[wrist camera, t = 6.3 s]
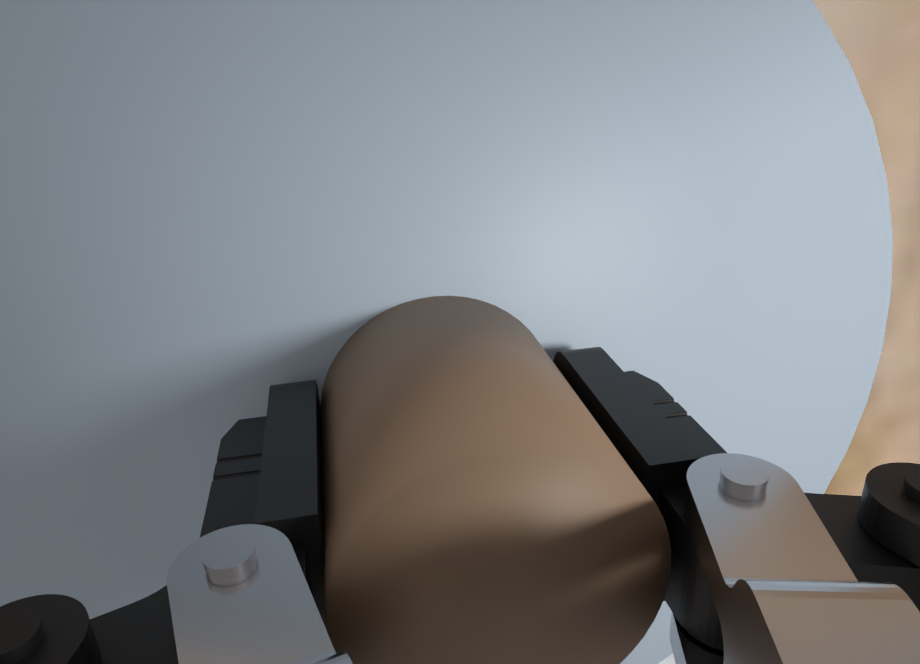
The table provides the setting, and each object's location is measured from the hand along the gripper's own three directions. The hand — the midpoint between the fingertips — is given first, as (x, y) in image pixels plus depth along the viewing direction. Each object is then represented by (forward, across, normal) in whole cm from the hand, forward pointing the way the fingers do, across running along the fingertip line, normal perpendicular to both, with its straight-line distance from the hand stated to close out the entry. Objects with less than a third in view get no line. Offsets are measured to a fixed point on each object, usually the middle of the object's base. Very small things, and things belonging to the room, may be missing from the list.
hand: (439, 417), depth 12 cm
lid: (+1, 0, 0) cm, 1 cm away
